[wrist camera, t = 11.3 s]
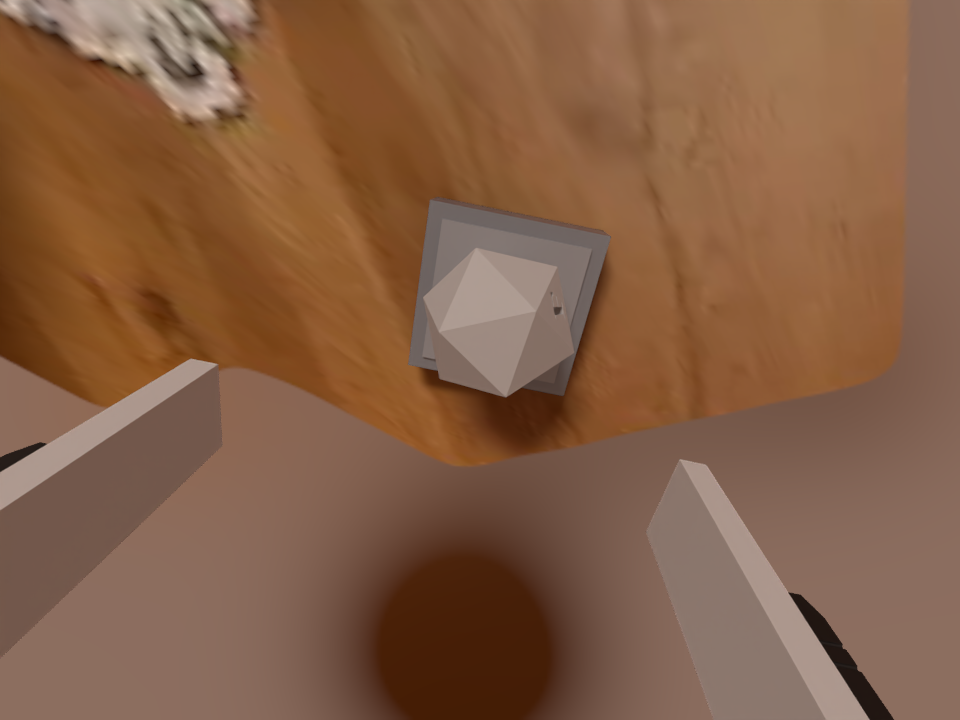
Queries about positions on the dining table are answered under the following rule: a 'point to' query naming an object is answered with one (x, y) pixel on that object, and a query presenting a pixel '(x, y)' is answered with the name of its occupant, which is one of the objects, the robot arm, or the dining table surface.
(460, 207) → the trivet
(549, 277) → the die
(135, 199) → the dining table surface
